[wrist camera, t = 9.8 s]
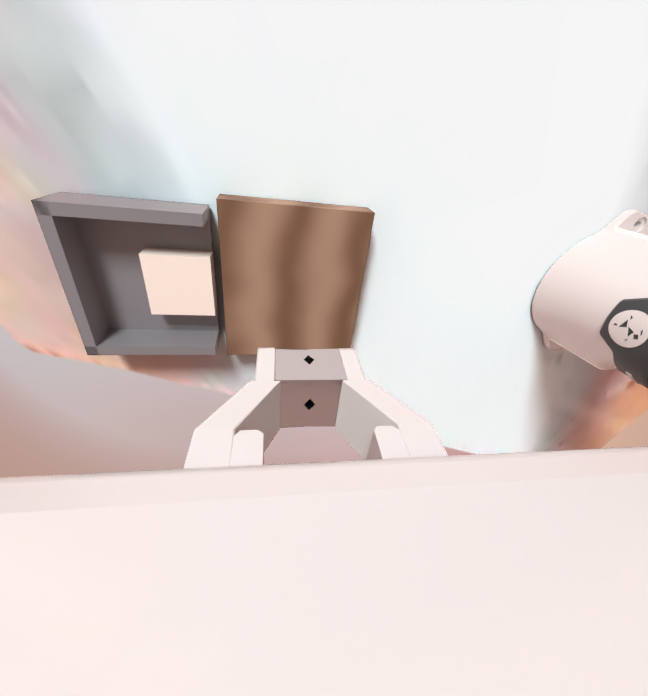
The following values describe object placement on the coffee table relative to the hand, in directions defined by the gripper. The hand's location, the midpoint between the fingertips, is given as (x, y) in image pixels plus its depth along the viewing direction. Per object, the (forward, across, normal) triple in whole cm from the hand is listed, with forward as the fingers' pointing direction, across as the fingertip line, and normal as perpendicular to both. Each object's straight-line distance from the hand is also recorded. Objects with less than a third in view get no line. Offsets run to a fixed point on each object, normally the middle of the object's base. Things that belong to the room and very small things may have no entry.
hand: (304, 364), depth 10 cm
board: (+24, -1, +7) cm, 25 cm away
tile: (+24, +10, +7) cm, 27 cm away
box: (+24, +13, +7) cm, 28 cm away
